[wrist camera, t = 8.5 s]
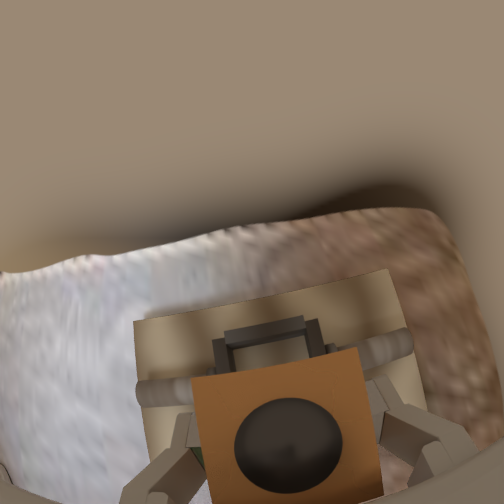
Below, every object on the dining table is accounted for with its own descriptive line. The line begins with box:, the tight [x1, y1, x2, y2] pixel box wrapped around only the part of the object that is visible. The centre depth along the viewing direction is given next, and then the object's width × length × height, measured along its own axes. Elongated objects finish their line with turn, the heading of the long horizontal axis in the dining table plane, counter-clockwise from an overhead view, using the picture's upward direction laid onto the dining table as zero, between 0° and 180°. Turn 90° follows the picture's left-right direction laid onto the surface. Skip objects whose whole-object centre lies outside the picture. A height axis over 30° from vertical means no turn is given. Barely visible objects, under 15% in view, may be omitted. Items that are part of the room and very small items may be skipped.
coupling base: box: [133, 268, 428, 463], centre depth 22 cm, size 24×14×5 cm, turn 100°
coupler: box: [191, 347, 384, 504], centre depth 9 cm, size 4×4×8 cm
